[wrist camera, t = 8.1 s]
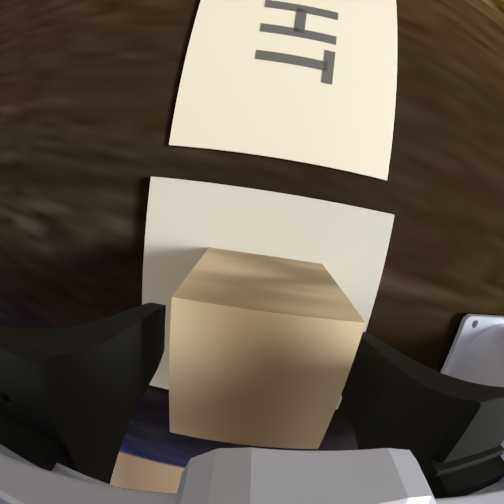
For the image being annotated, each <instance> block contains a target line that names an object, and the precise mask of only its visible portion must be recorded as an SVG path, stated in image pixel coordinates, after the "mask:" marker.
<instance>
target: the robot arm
mask: <svg viewBox="0 0 504 504" xmlns="http://www.w3.org/2000/svg"><path fill="white" fill-rule="evenodd" d="M165 315H166V305H162V304H157V303H152V302H150V303H146V304H143V305H140V306H137V307H135V308H132V309H129V310H127V311H124V312H121V313H119V314H116V315H113V316H110V317H107V318H103V319H100V320H97V321H93V322H89V323H85V324H80V325H74V326H66V327H56V328H18V327H10V326H3V325H0V504H504V316H495V315H480V314H467V315H465V316H464V317H463V319H462V321H461V323H460V326H459V329H458V331H457V334H456V337H455V339H454V342H453V344H452V347H451V349H450V351H449V354H448V356H447V358H446V361H445V363H444V365H443V368H442V370H441V372H438V371H435V370H433V369H431V368H428V367H426V366H424V365H422V364H420V363H418V362H416V361H415V360H413V359H411V358H409V357H407V356H406V355H404V354H402V353H401V352H399V351H397V350H396V349H394V348H393V347H391V346H389V345H388V344H386V343H385V342H383V341H381V340H380V339H378V338H376V337H375V336H373V335H371V334H369V333H366V332H363V333H362V336H361V339H360V342H359V345H358V349H357V352H356V355H355V358H354V360H353V363H352V366H351V369H350V372H349V375H348V377H347V380H346V383H345V386H344V388H343V391H342V394H341V395H342V398H343V401H344V404H345V407H346V410H347V413H348V416H349V419H350V422H351V424H352V427H353V430H354V433H355V437H356V440H357V444H358V450H344V451H297V450H277V449H264V448H253V447H247V448H218V449H215V450H212V451H210V452H207V453H204V454H201V455H199V456H196V457H193V458H191V459H190V460H189V462H188V464H187V466H186V467H185V469H184V471H183V472H182V476H181V480H180V484H179V488H178V492H177V494H174V493H162V492H151V491H142V490H134V489H127V488H121V487H116V486H113V485H110V480H111V476H112V473H113V469H114V466H115V463H116V459H117V455H118V453H119V450H120V447H121V444H122V441H123V438H124V435H125V433H126V430H127V427H128V425H129V422H130V420H131V417H132V415H133V413H134V411H135V409H136V407H137V405H138V403H139V401H140V400H141V398H142V396H143V394H144V393H145V391H146V389H147V387H148V385H149V384H150V382H151V380H152V378H153V376H154V375H155V373H156V371H157V369H158V366H159V364H160V361H161V359H162V356H163V353H164V347H165ZM473 322H474V323H473Z"/></svg>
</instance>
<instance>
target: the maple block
mask: <svg viewBox="0 0 504 504" xmlns="http://www.w3.org/2000/svg"><path fill="white" fill-rule="evenodd" d="M364 326H365V321H364V320H363V318H362V317H361V316H360V314H359V313H358V311H357V310H356V309H355V307H354V306H353V305H352V303H351V302H350V300H349V299H348V298H347V296H346V295H345V294H344V292H343V291H342V290H341V288H340V287H339V285H338V284H337V283H336V281H335V280H334V279H333V277H332V276H331V275H330V273H329V272H328V271H327V269H326V268H325V267H324V265H323V264H321V263H314V262H307V261H300V260H293V259H286V258H280V257H273V256H266V255H259V254H252V253H245V252H239V251H232V250H225V249H218V248H211V247H209V248H208V249H207V251H206V252H205V253H204V255H203V256H202V257H201V259H200V260H199V261H198V263H197V264H196V265H195V266H194V268H193V269H192V270H191V272H190V273H189V274H188V276H187V277H186V278H185V280H184V281H183V282H182V284H181V285H180V286H179V288H178V289H177V291H176V292H175V293H174V295H173V296H172V302H171V322H170V352H169V421H170V432H171V433H176V434H181V435H186V436H191V437H196V438H202V439H208V440H214V441H220V442H228V443H235V444H244V445H253V446H264V447H278V448H298V449H318V448H319V446H320V444H321V441H322V439H323V437H324V435H325V432H326V430H327V428H328V426H329V423H330V421H331V418H332V416H333V414H334V411H335V409H336V406H337V404H338V401H339V399H340V396H341V394H342V391H343V388H344V386H345V383H346V380H347V377H348V375H349V372H350V369H351V366H352V363H353V360H354V358H355V355H356V352H357V349H358V345H359V342H360V339H361V336H362V333H363V330H364Z"/></svg>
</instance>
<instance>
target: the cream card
mask: <svg viewBox="0 0 504 504" xmlns="http://www.w3.org/2000/svg"><path fill="white" fill-rule="evenodd" d="M396 84H397V10H396V0H201V1H200V4H199V8H198V11H197V15H196V19H195V22H194V26H193V30H192V34H191V38H190V41H189V46H188V50H187V54H186V58H185V62H184V67H183V71H182V76H181V81H180V85H179V90H178V95H177V100H176V106H175V111H174V117H173V122H172V128H171V134H170V140H169V145H171V146H183V147H194V148H204V149H213V150H222V151H230V152H238V153H246V154H253V155H260V156H266V157H273V158H279V159H285V160H291V161H297V162H302V163H308V164H313V165H318V166H324V167H329V168H333V169H338V170H343V171H348V172H352V173H357V174H361V175H365V176H370V177H374V178H378V179H382V180H387V177H388V170H389V162H390V154H391V146H392V137H393V127H394V115H395V102H396Z"/></svg>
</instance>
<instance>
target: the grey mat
mask: <svg viewBox="0 0 504 504" xmlns="http://www.w3.org/2000/svg"><path fill="white" fill-rule="evenodd" d="M393 220H394V215H393V214H389V213H384V212H380V211H375V210H370V209H365V208H361V207H356V206H351V205H346V204H340V203H335V202H330V201H325V200H319V199H314V198H308V197H302V196H296V195H290V194H284V193H278V192H272V191H265V190H259V189H252V188H245V187H238V186H231V185H223V184H216V183H208V182H199V181H191V180H182V179H173V178H163V177H151V180H150V188H149V197H148V207H147V218H146V229H145V243H144V259H143V281H142V305H143V304H146V303H150V302H152V303H157V304H162V305H166V315H165V347H164V353H163V356H162V359H161V361H160V364H159V366H158V369H157V371H156V373H155V375H154V376H153V378H152V380H151V382H150V384H149V385H151V386H155V387H160V388H164V389H169V352H170V322H171V302H172V296H173V295H174V293H175V292H176V291H177V289H178V288H179V286H180V285H181V284H182V282H183V281H184V280H185V278H186V277H187V276H188V274H189V273H190V272H191V270H192V269H193V268H194V266H195V265H196V264H197V263H198V261H199V260H200V259H201V257H202V256H203V255H204V253H205V252H206V251H207V249H208V248H209V247H211V248H218V249H225V250H232V251H239V252H245V253H252V254H259V255H266V256H273V257H280V258H286V259H293V260H300V261H307V262H314V263H321V264H323V265H324V267H325V268H326V269H327V271H328V272H329V273H330V275H331V276H332V277H333V279H334V280H335V281H336V283H337V284H338V285H339V287H340V288H341V290H342V291H343V292H344V294H345V295H346V296H347V298H348V299H349V300H350V302H351V303H352V305H353V306H354V307H355V309H356V310H357V311H358V313H359V314H360V316H361V317H362V318H363V320H364V321H365V326H364V330H363V332H366V329H367V325H368V322H369V319H370V315H371V312H372V309H373V305H374V301H375V298H376V294H377V290H378V287H379V283H380V279H381V275H382V271H383V267H384V263H385V258H386V254H387V249H388V245H389V240H390V235H391V230H392V225H393ZM341 399H342V395H341V396H340V399H339V401H338V404H337V406H336V409H338V407H339V404H340V402H341Z"/></svg>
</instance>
